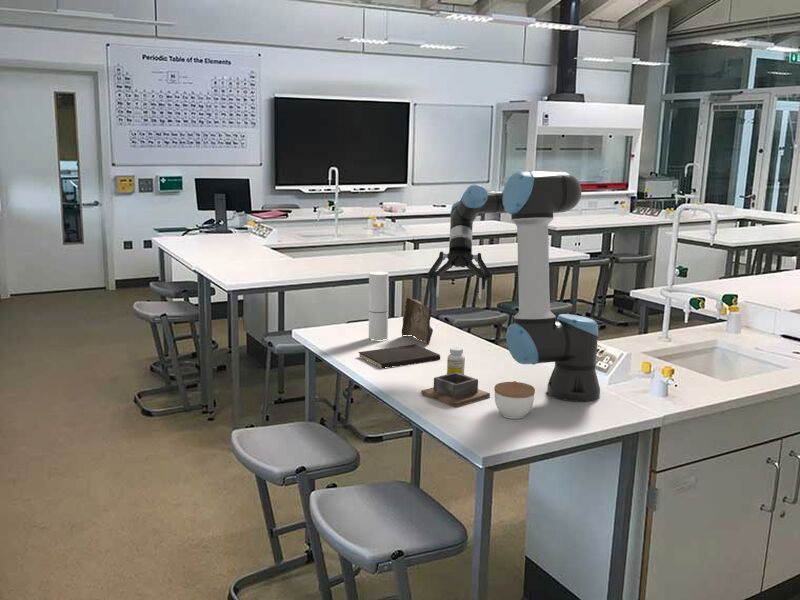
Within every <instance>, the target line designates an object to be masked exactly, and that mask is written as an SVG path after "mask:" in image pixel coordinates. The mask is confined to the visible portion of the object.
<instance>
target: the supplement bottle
mask: <svg viewBox="0 0 800 600" xmlns="http://www.w3.org/2000/svg"><path fill="white" fill-rule="evenodd" d="M449 353H450V354H449V355H448V356H447V360H446V361H447V363H446V365H447V366H446V367H447V368H446V372H447V373H446V375H447V374H451V373H455V372H457V373H460V374H463V375H465V361H466V358H465V355H463V353H464V348H463V347H458V346H456V347H455V346H452V347H450V348H449Z"/></svg>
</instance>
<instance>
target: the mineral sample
mask: <svg viewBox="0 0 800 600" xmlns="http://www.w3.org/2000/svg"><path fill="white" fill-rule="evenodd" d="M404 308H405V309H404V311H403V317H402V327H401V337H402V336H403V335H412V336H415V337H416V338H417V339H419V340H422V341H421V342H423V341H425V342H424V343H425V346H426V345H427V344H428V345H429V344H430V343H431V338H432V335H433V332H434V330H433V328H432V327H431V317H432V316H431V315H432V309H431V308H429V306H426V305H425V304H424V303H423V302H421V301H420V300H418V299H413V298H409V297H407V298H406V301H405V305H404ZM417 339H416V340H417ZM419 340H418V341H419Z"/></svg>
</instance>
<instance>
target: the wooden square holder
mask: <svg viewBox="0 0 800 600" xmlns="http://www.w3.org/2000/svg"><path fill="white" fill-rule="evenodd" d="M420 394H422V396H425V397H427V398H430V399H432V400H435V401H437V402H441V403H443V404H445V405H449V406H451V407H454V408H458V407H462V406H465V405H468V404H473V403H475V402H479V401H481V400H485V399H488V398H491V397H490V396H491V392H487V391H484V390H482V389H479V379H478V378H475V377H472V376H469V375H465V374H464V375H463V374H460V373H457V372H455V373H451V374H447V373H446V374H444V375H440V376H435V377H433V386H432V387H430V388H426V389H422V390H420Z"/></svg>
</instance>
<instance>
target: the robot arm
mask: <svg viewBox="0 0 800 600" xmlns="http://www.w3.org/2000/svg"><path fill="white" fill-rule="evenodd" d="M581 198H582V186H581V183H580V182H579V180H578V179H577V177H575V176H574V175H572V174H571V173H567V172H565V171H543V170H542V171H541V170H538V171H537V170H526V171H525V170H524V171H517V172H514V173H512V174H511V175H510V176H509V177H508V179H507V181H506V183H505V185H504V188H503V190H487V189H486V188H485V187H484V186H482V185H480V184H477V183H474V184H471V185H469V186H468V187H467V188H466V190H465V191H464V192H463V193H462V195H461V198H460V200H459V201H456V202H455V203H453V204H452V206H451V210H450V214H449V215H450V222H449V223H450V226H449V227H450V228H449V229H450V230H449V244H448V245H449V247H448V253H444V251H439V255H438V257H437V259H436V261H435V262H434V263H433V265H432V266H431V268H430V269H429V271H428V274H427V277H428V278H429V279H433V282H432V287H433V288H436V293H435V294H436V295H435V297H436V298H440V296H439V295H440V279H441V277H442V276H443V275H444V274H445V273H446V272H447V271H448V270H449V269H452V268H453V267H455V268H459V267H460V268H465V267H466V268H467V269H468V270H470V271H471V272H472V273H473V274H474V275H475V276H476V277H477V278H478V279H479V281H478V299H479V300H482V291H483V290H485V289H486V282H487V281H488V282H490V281H491V277H492V273H491V272H490V270H489V269H488V267H487V265H486V264H485V262H484V260H483V258H482V253H481V252H479V253H477V254H473V244H472V243H473V225H474V224H473V223H474V221H475V220H476V218H477V217H478V215H480V214H509V215H511V222H512V223H513V224H514V225H516V236H517V237H516V238H517V241H516V242H517V271H518V272H517V274H518V276H517V277H518V278H517V279H518V283H517V284H518V312H517V313H516V314H515V315H514V317H513V323H511V324H510V325H509V326H508V327H507V329H506V333H505V335H506V337H505V339H506V346H507V348H508V352H509V354H510V355H511V358H513V360H514V361H515V362H517V363H518V364H521V365H537V364H547V363H554V367H553V370H552V373H551V374H550V377H549V379H548V382H547V388H546V389H547V390H546V392H547V394H548V395H550V396H552V397H553V396H554V398H555V399H559V400H563V401H570V402H590V401H594V400H597V399H599V398H600V397H601V396H600V395H601V386H600V383H599V380H598V375H597V370H596V366H597V353H598V351H597V350H598V337H599V325H598V322H597V321H596V320H594V319H592V318H589V317H587V316H583V315H582V316H581V315H577V314H568V313H560V314H558V315H557V317H556V315H555V314H554V313H553V312H552V311H551V299H550V296H551V295H550V260H549V259H550V258H549V257H550V255H549V252H550V251H549V224H550V223H552V221H553V220H554V214H556V213H557V214H559V213H566V212H568V211H571V210H573V209H574V208H575V207H576V206H577V205H578V204H579V202H580V200H581ZM446 259H447V261H446V263H444V264H443V265H442V266H441V264H442V263H443V261H445V260H446ZM473 260H474V261H475V262H476V263H477V265H478V267H477V266H476V264H475V263H474V262H473ZM440 266H441V267H440ZM479 268H480V269H479Z"/></svg>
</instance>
